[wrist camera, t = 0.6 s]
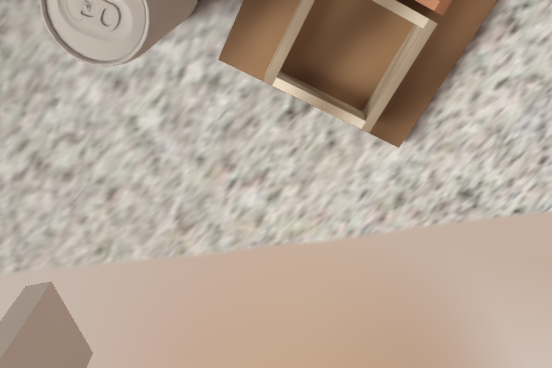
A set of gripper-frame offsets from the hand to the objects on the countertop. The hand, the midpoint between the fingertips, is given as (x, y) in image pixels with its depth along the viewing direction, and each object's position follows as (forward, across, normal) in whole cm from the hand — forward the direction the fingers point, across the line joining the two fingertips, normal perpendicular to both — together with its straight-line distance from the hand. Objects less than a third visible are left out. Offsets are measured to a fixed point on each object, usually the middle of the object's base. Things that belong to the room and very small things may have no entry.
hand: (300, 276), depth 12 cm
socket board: (+22, +6, +4) cm, 24 cm away
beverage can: (+23, -7, +7) cm, 25 cm away
